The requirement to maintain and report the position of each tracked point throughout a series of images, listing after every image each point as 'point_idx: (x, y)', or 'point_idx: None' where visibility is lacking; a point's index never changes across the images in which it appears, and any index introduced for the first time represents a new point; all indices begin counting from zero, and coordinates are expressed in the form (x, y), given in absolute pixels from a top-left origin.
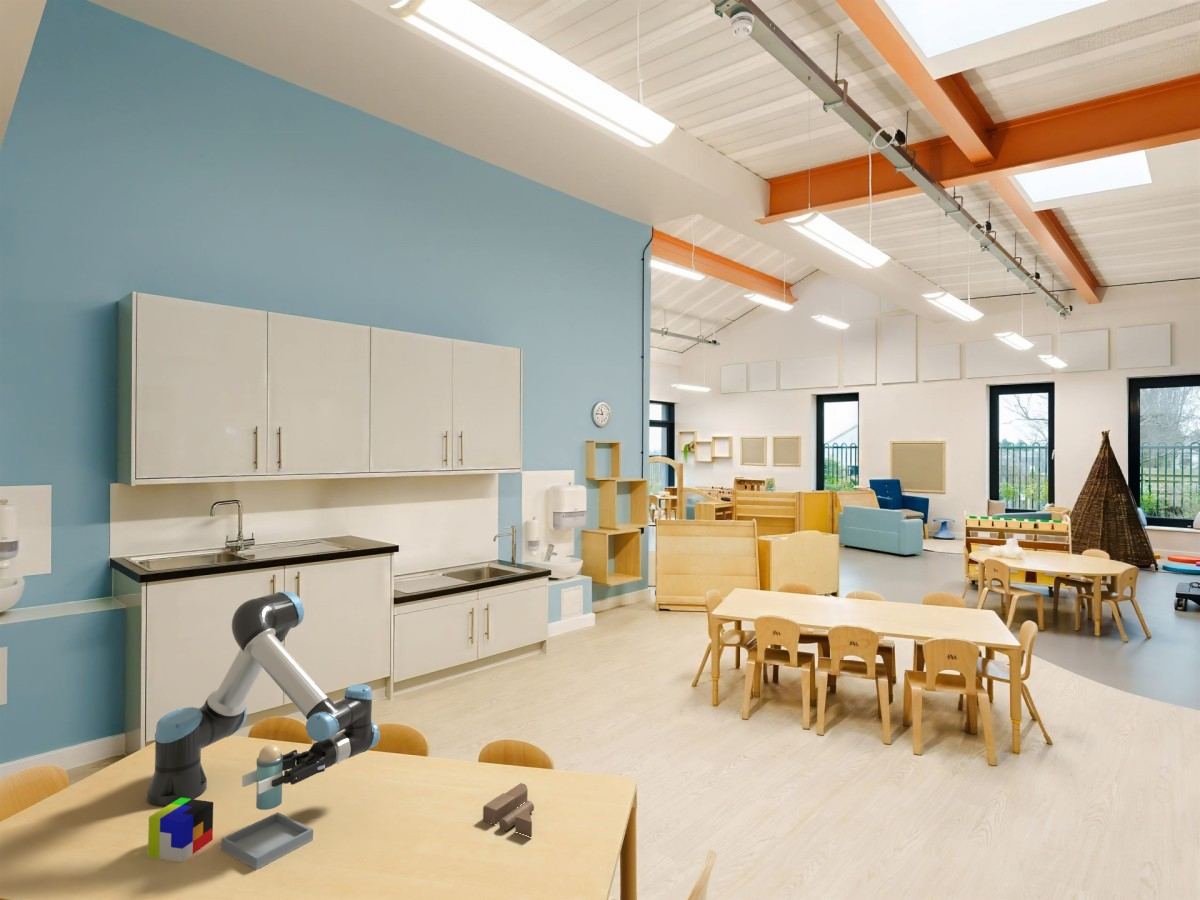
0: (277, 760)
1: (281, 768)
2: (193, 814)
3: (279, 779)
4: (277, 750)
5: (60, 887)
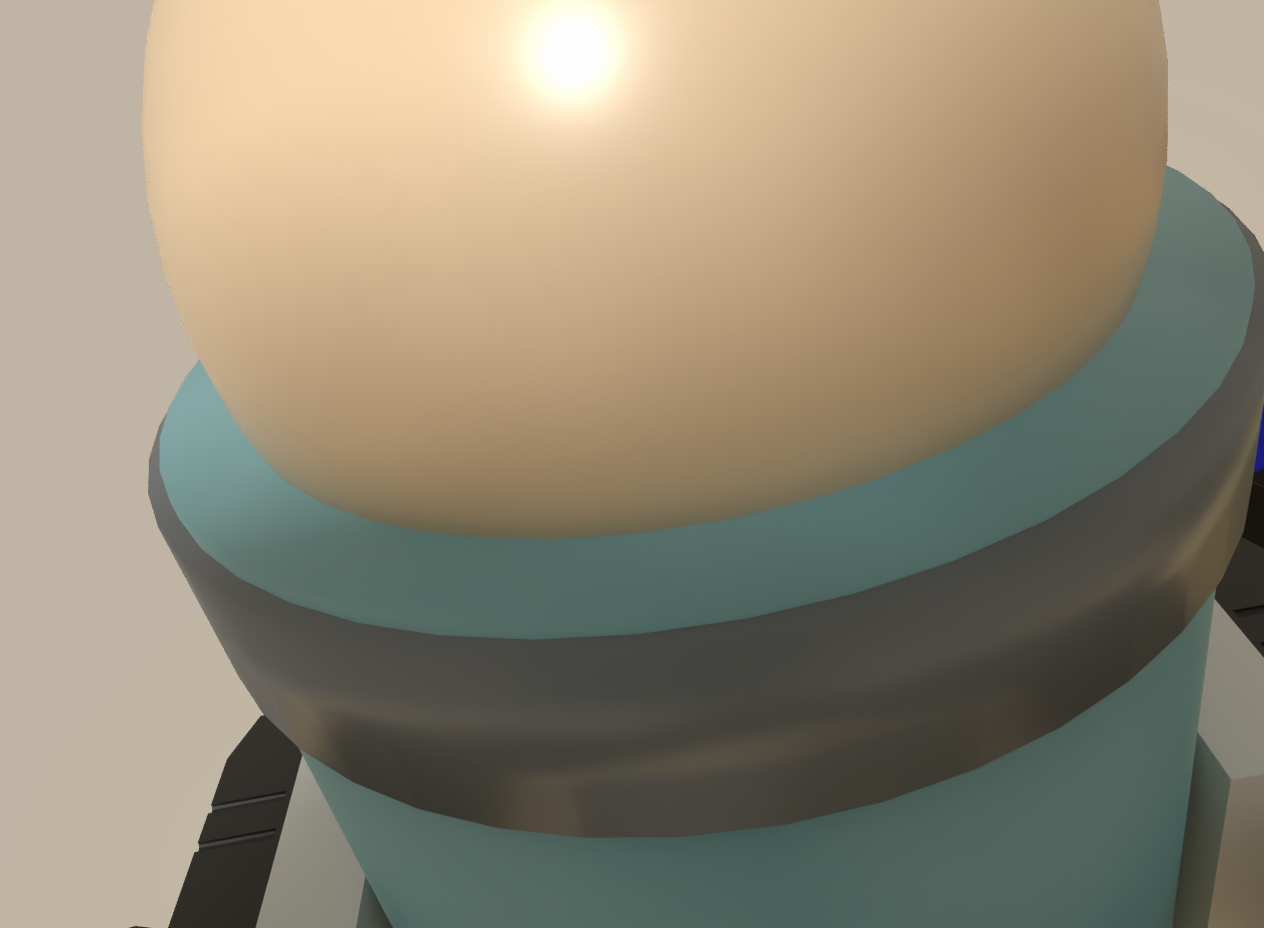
0: (175, 400)
1: (382, 898)
2: (1259, 478)
3: (215, 845)
4: (154, 6)
5: None
